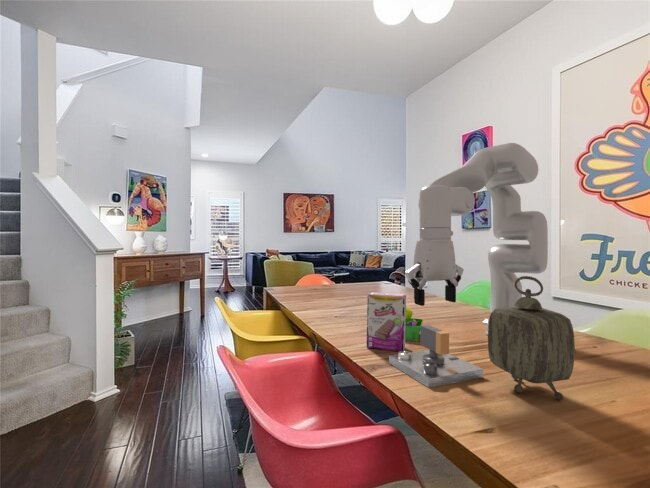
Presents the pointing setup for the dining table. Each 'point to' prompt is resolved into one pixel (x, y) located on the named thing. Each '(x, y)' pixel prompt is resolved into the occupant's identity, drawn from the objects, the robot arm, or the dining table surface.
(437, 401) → the dining table surface
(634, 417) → the dining table surface
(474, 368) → the levelling base
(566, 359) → the tabletop clock
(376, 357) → the dining table surface
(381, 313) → the candy bar box
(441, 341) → the knob
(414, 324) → the fruit basket
